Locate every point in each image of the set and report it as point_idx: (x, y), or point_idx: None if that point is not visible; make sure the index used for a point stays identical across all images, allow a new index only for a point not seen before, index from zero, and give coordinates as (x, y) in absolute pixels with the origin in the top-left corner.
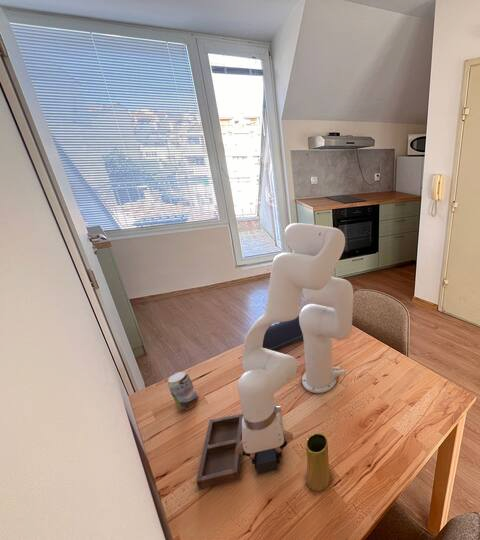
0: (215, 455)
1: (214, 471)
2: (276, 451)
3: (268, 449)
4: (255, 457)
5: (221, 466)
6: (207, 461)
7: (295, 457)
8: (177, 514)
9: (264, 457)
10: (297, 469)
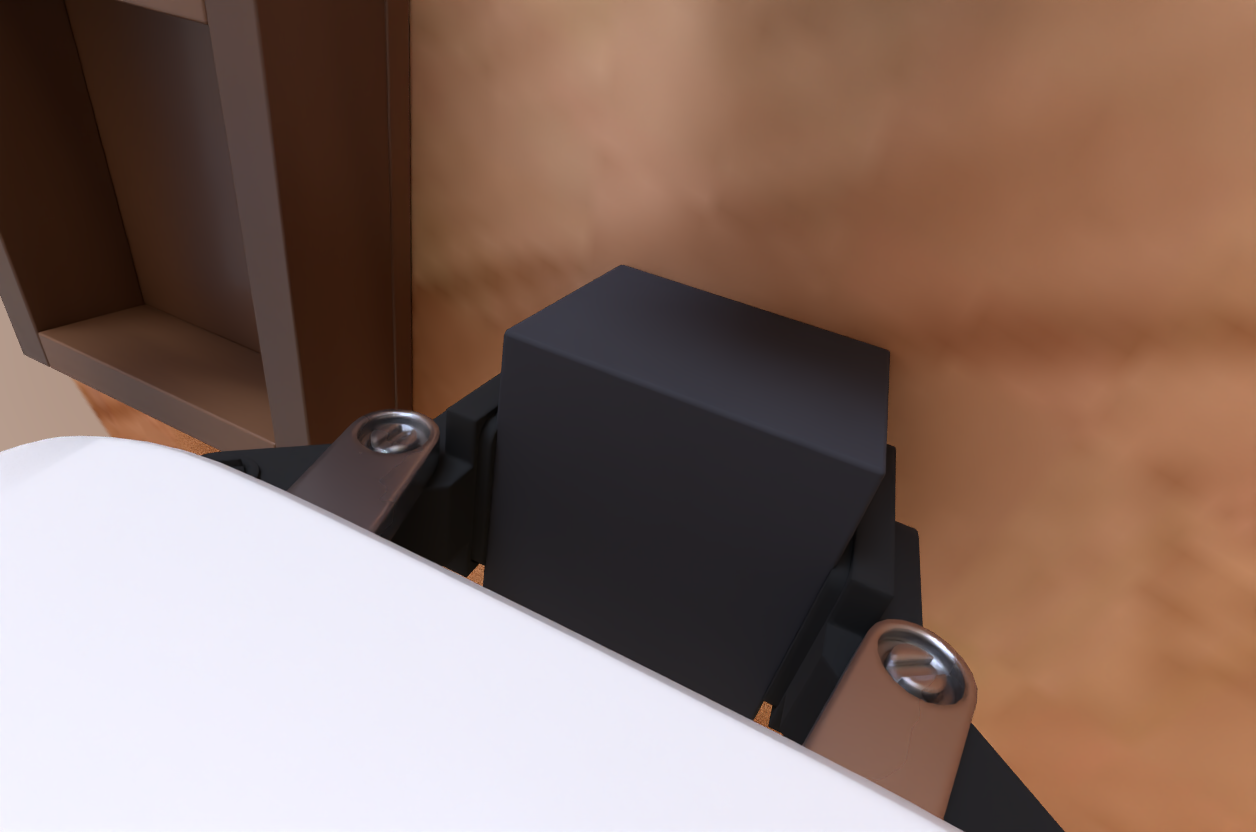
0: (125, 26)
1: (188, 245)
2: (788, 696)
3: (675, 559)
4: (465, 555)
5: (229, 225)
6: (81, 77)
7: (1078, 623)
8: (110, 406)
9: (590, 620)
10: (998, 734)
